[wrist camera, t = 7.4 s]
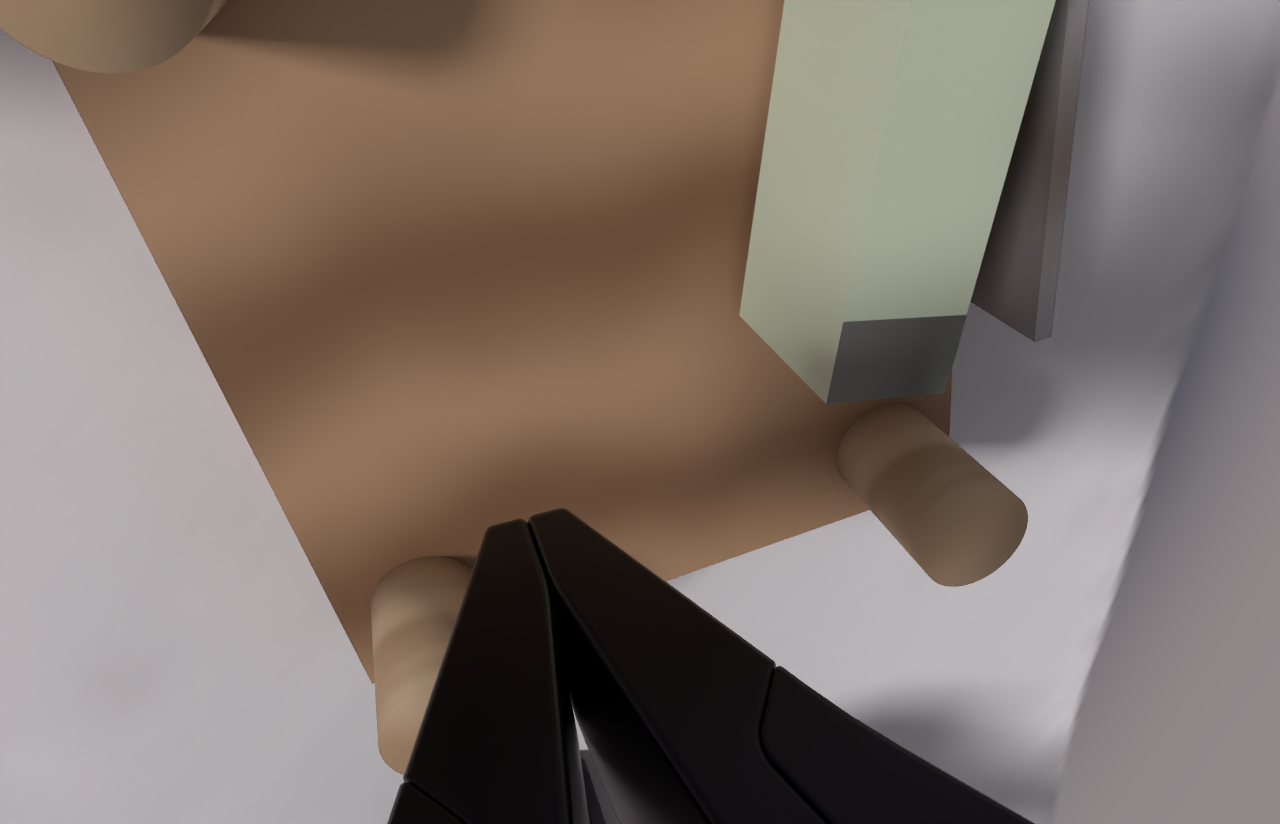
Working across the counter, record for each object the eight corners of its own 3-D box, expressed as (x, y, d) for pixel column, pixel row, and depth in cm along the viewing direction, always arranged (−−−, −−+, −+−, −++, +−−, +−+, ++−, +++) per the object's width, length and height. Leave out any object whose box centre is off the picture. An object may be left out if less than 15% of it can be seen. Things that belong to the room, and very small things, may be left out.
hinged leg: (814, -353, 13) (974, -436, 10) (988, -317, 14) (1186, -382, 11) (724, 316, 19) (808, 405, 15) (854, 309, 20) (959, 391, 16)
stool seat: (915, 442, 25) (1055, 572, 21) (369, 627, 23) (379, 827, 18) (925, -355, 16) (1200, -472, 11) (-32, -192, 13) (-253, -246, 8)
